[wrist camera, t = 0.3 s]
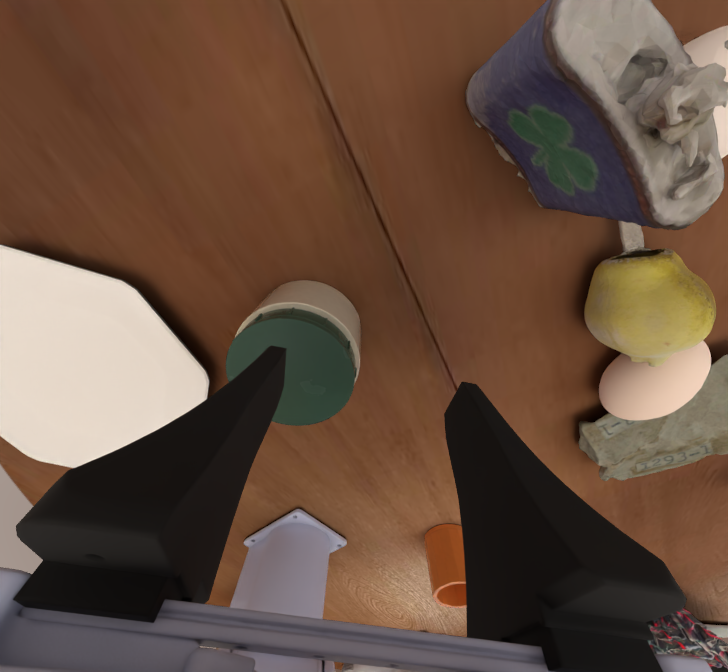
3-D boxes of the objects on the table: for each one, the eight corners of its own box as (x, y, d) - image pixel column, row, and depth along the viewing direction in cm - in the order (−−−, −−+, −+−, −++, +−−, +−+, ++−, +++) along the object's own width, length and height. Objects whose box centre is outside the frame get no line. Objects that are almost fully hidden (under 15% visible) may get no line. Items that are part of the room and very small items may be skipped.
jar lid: (298, 427, 21) (293, 443, 20) (211, 357, 19) (199, 371, 17) (380, 369, 19) (380, 383, 18) (293, 281, 16) (286, 290, 15)
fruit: (663, 185, 18) (693, 326, 21) (551, 231, 21) (590, 350, 24) (726, 188, 13) (755, 371, 16) (571, 248, 16) (616, 394, 19)
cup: (440, 555, 36) (452, 612, 32) (415, 535, 35) (422, 593, 30) (478, 539, 35) (496, 597, 30) (453, 517, 33) (467, 575, 28)
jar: (310, 390, 26) (295, 441, 20) (235, 325, 23) (196, 366, 18) (382, 336, 23) (386, 378, 18) (308, 256, 20) (288, 280, 15)
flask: (453, 97, 16) (573, -23, 7) (498, 45, 15) (710, -181, 6) (546, 220, 19) (722, 257, 10) (589, 182, 18) (833, 181, 9)
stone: (608, 501, 27) (574, 425, 24) (589, 473, 30) (556, 402, 26) (822, 441, 23) (816, 339, 19) (778, 416, 25) (765, 321, 22)
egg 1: (583, 401, 22) (673, 320, 19) (577, 383, 26) (652, 314, 23) (649, 448, 20) (759, 368, 17) (633, 421, 24) (720, 352, 21)
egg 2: (662, 83, 17) (565, 186, 18) (727, -36, 13) (591, 112, 14) (770, 116, 15) (654, 230, 16) (898, -11, 10) (721, 162, 11)
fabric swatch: (725, 669, 42) (747, 704, 39) (555, 652, 48) (564, 681, 45) (758, 590, 34) (788, 627, 32) (551, 581, 40) (560, 611, 37)
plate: (-88, 208, 19) (-123, 209, 18) (227, 302, 22) (218, 310, 21) (-23, 432, 27) (-43, 444, 26) (200, 479, 30) (193, 493, 29)
